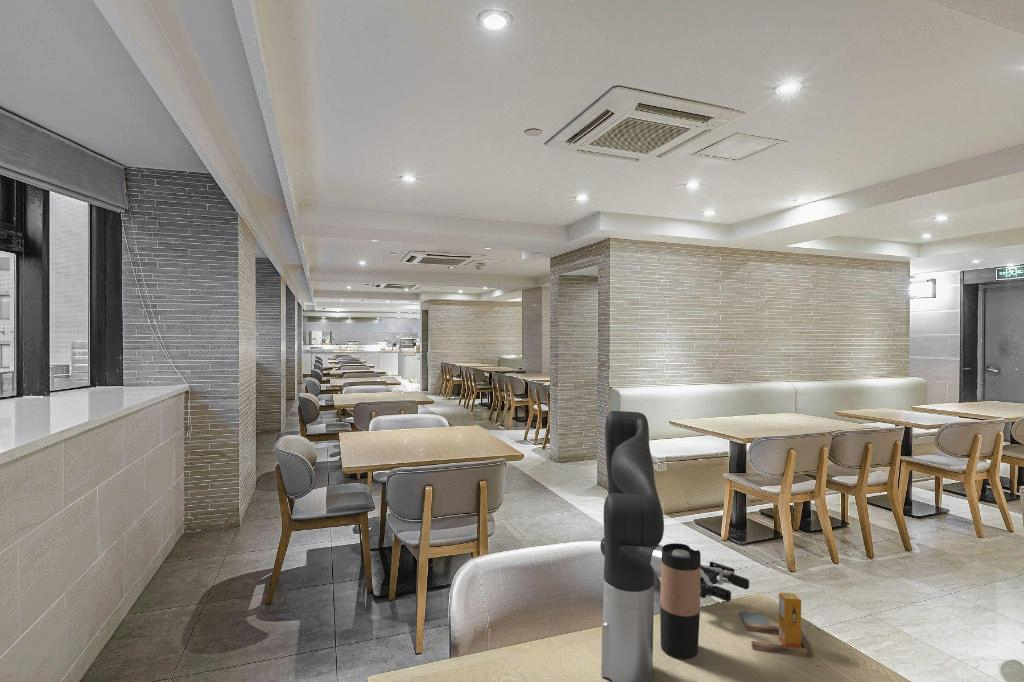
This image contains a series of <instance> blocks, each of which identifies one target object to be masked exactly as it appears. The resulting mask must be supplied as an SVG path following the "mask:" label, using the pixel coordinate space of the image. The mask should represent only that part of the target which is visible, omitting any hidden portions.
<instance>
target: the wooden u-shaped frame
mask: <svg viewBox="0 0 1024 682" xmlns="http://www.w3.org/2000/svg"><path fill="white" fill-rule="evenodd" d="M744 628H745V630H746V631H752V632H757V631H758V633H765V632H767V633H766V634H773V633H775V634H773V635H779V626H777V625H769V626H768V625H761V624H753V623H746V622H745V625H744ZM806 637H807V636H806V635H805V634H804V632H803V630H802V629H801V648H799V647H792V646H784V645H783V644H775V643H770V642H769V643H768V642H761V641H754V640H751V648H752V650H756V651H763V652H768V653H769V652H771V653H777V654H784V655H792V656H796V657H797V656H799V657H804V658H805V657H806V658H810V659H811V658H815V652H814V650H813V649H812V647H811V644H810V643H809V640H808V639H807V638H806Z"/></svg>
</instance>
